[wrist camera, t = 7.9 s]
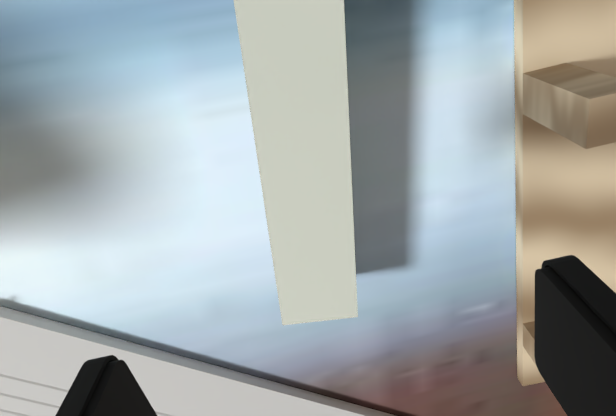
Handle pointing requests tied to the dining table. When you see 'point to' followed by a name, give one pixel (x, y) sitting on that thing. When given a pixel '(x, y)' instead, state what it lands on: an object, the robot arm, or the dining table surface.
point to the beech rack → (563, 147)
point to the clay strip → (303, 150)
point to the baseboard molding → (138, 376)
